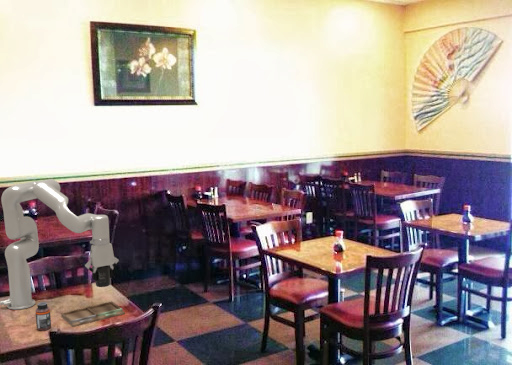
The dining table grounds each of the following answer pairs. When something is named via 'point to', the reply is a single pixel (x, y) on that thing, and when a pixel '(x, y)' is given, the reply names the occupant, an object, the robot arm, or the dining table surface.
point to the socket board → (92, 313)
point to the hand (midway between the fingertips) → (102, 278)
